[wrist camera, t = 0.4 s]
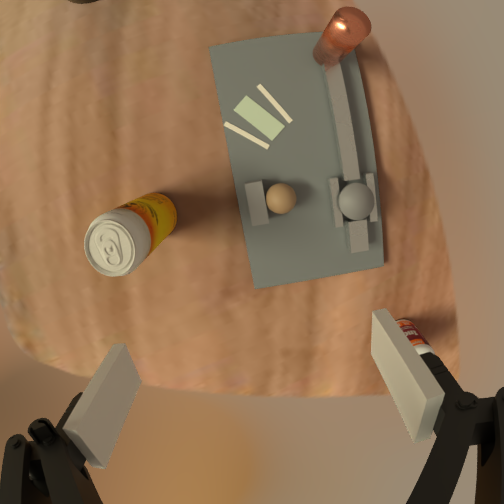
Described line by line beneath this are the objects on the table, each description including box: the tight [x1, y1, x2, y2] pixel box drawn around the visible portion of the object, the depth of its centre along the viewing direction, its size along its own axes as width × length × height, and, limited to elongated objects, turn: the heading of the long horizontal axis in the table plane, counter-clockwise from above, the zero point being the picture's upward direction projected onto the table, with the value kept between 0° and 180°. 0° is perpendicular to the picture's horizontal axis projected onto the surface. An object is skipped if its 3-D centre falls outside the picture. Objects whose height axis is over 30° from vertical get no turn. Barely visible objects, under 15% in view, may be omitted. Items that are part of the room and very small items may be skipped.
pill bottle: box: [396, 319, 435, 355], centre depth 41 cm, size 6×6×11 cm
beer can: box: [84, 193, 177, 276], centre depth 33 cm, size 6×6×15 cm
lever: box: [313, 7, 378, 253], centre depth 31 cm, size 27×6×12 cm, turn 10°
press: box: [209, 32, 384, 289], centre depth 36 cm, size 32×18×5 cm, turn 10°
